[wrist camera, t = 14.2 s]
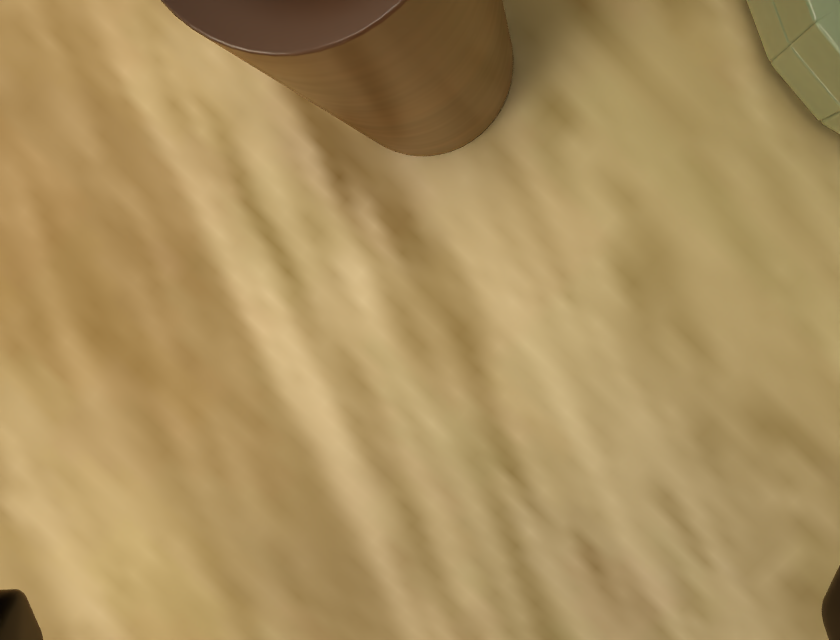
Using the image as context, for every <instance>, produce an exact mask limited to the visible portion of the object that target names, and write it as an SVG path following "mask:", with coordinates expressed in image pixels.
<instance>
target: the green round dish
mask: <svg viewBox="0 0 840 640" xmlns="http://www.w3.org/2000/svg"><path fill="white" fill-rule="evenodd" d="M746 1H747V4H748V6H749V9H750V12H751V14H752V17H753V20H754V22H755V25H756V28H757V31H758V33H759V36H760V39H761V41H762V44H763V47H764V49H765V52H766V55H767V57H768V59H769V60H770V61H772V62H771V64H772V66H773V67H774V69H775V70H776V71H777V72H778V73H779V75H780V76H781V77H782V78H783V79H784V80H785V82H786V83H787V84H788V85H789V86H790V88H791V89H792V90H793V91H794V92H795V94H796V95H797V96H798V97H799V98H800V100H801V101H802V102H803V103H804V104H805V106H806V107H807V108H808V109H809V110H810V112H811V113H812V114H813V115H814V116H815V118H816V119H817V120H819V121H821V120H822V121H821V123H822V124H823V125H825V126H826V127H828V128H830V129H831V130H833V131H835V132H836V133H838V134H839V135H840V0H746Z"/></svg>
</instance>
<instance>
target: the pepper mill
mask: <svg viewBox="0 0 840 640" xmlns="http://www.w3.org/2000/svg"><path fill="white" fill-rule="evenodd" d="M161 1H162V2H163V3H164V4H165V5H166V6H167V7H168V9H169V10H170V11H171V12H172V13H173V14H174V15H175V16H176V17H178V18H179V19H180V20H181V21H183V22H184V23H185V24H186V25H188V26H189V27H190V28H191V29H193V30H195V31H196V32H198V33H199V34H201V35H203V36H204V37H206V38H208V39H209V40H211V41H213V42H214V43H216V44H217V45H219V46H221V47H222V48H224V49H226V50H227V51H229V52H230V53H232V54H234V55H235V56H237V57H239V58H240V59H242V60H244V61H245V62H247V63H248V64H250V65H252V66H253V67H255V68H257V69H258V70H260V71H261V72H263V73H265V74H266V75H268V76H270V77H271V78H273V79H275V80H276V81H278V82H279V83H281V84H283V85H284V86H286V87H288V88H289V89H291V90H292V91H294V92H296V93H297V94H299V95H301V96H302V97H304V98H306V99H307V100H309V101H310V102H312V103H314V104H315V105H317V106H319V107H320V108H322V109H323V110H325V111H327V112H328V113H330V114H332V115H333V116H335V117H337V118H338V119H340V120H341V121H343V122H345V123H346V124H348V125H350V126H351V127H353V128H354V129H356V130H358V131H359V132H361V133H363V134H364V135H366V136H368V137H369V138H371V139H372V140H374V141H376V142H377V143H379V144H381V145H382V146H384V147H386V148H388V149H391V150H393V151H395V152H399V153H402V154H406V155H413V156H432V155H440V154H444V153H447V152H451V151H453V150H456V149H458V148H460V147H462V146H464V145H466V144H468V143H469V142H471V141H472V140H474V139H475V138H476V137H478V136H479V135H480V134H481V133H482V132H483V131H484V130H485V129H486V128H487V127H488V126H489V125H490V124H491V123H492V122H493V120H494V119H495V118H496V116H497V115H498V113H499V112H500V110H501V108H502V106H503V104H504V102H505V100H506V98H507V95H508V92H509V89H510V85H511V81H512V75H513V50H512V43H511V39H510V34H509V29H508V24H507V20H506V15H505V10H504V5H503V1H502V0H161Z"/></svg>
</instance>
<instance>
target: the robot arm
mask: <svg viewBox="0 0 840 640" xmlns="http://www.w3.org/2000/svg"><path fill="white" fill-rule="evenodd" d="M822 617H823V622H824V626H825V629H826V632H827V635H828V638H829V640H840V566H839V568H838V570H837V572H836V574H835V576H834V578H833V580H832V582H831V584H830V587H829V589H828V591H827V593H826V595H825V597H824V600H823V604H822ZM0 640H43V636H42V632H41V630H40V627H39V625H38V623H37V620H36V618H35V616H34V614H33V611H32V609H31V607H30V604H29V602H28V600H27V598H26V596H25V594H24V593H23V592H21V591H20V590H17V589H10V590H0Z"/></svg>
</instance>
